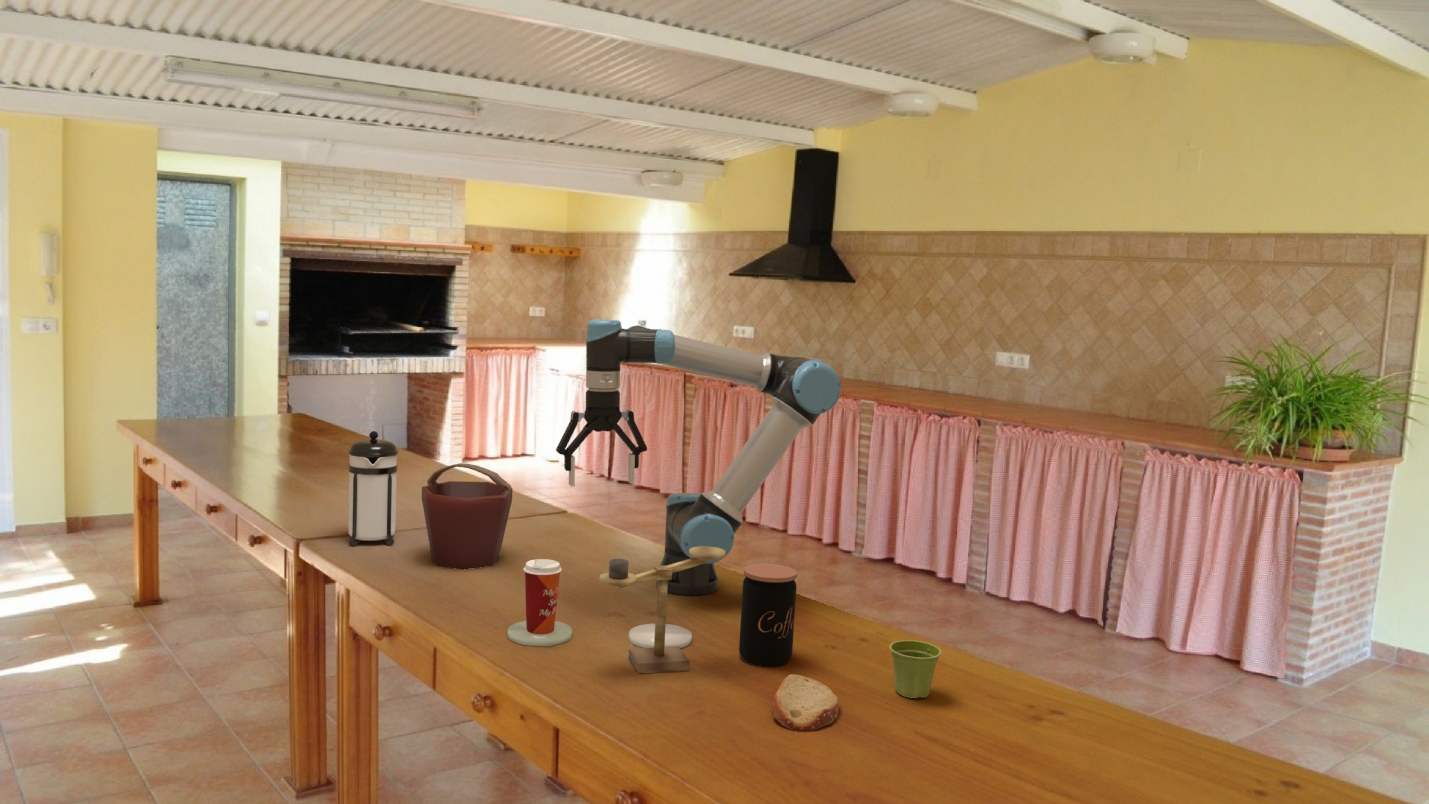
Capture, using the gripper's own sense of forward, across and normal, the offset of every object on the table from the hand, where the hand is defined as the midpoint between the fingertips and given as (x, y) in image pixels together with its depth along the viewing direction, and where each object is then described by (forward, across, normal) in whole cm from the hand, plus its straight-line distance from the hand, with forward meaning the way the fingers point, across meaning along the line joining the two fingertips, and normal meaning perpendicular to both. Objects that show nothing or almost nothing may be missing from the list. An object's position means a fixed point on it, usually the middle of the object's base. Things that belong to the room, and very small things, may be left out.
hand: (601, 484), depth 233 cm
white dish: (+28, +7, -24) cm, 38 cm away
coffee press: (+27, -47, +67) cm, 86 cm away
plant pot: (+30, +44, -62) cm, 82 cm away
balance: (+28, +2, -38) cm, 48 cm away
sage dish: (+28, -17, -18) cm, 37 cm away
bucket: (+27, -25, +42) cm, 56 cm away
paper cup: (+26, -17, -17) cm, 36 cm away
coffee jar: (+29, +24, -39) cm, 54 cm away
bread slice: (+29, +21, -63) cm, 72 cm away
